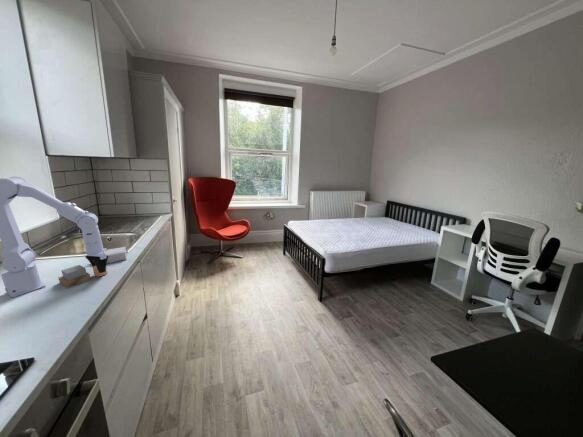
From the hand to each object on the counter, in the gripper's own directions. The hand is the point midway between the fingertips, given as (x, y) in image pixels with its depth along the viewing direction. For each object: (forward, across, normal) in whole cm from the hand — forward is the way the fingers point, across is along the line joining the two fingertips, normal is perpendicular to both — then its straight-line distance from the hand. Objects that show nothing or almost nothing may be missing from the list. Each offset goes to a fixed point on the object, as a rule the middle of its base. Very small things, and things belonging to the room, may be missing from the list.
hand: (100, 270), depth 106 cm
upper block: (0, +3, +8) cm, 8 cm away
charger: (+2, +15, -9) cm, 18 cm away
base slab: (+2, +3, +8) cm, 9 cm away
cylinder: (+2, 0, 0) cm, 2 cm away
